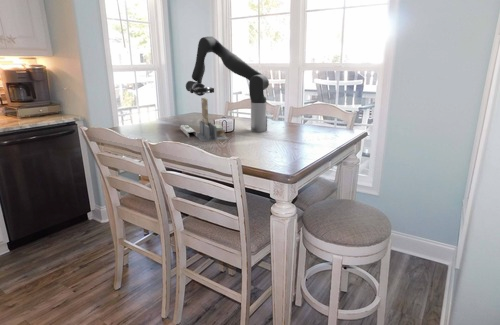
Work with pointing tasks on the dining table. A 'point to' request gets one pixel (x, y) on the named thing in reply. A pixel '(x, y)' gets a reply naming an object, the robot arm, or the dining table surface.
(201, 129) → the rack
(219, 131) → the offcut
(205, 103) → the brown wooden board
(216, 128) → the offcut
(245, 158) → the dining table surface
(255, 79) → the robot arm
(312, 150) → the dining table surface
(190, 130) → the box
